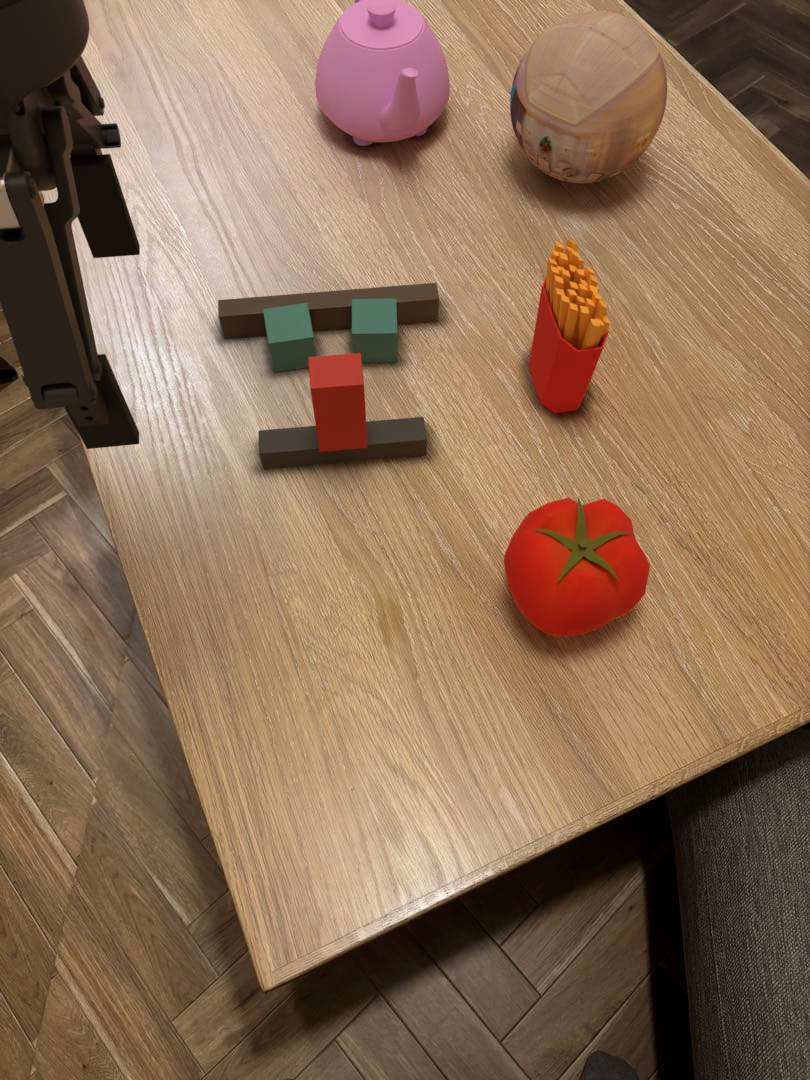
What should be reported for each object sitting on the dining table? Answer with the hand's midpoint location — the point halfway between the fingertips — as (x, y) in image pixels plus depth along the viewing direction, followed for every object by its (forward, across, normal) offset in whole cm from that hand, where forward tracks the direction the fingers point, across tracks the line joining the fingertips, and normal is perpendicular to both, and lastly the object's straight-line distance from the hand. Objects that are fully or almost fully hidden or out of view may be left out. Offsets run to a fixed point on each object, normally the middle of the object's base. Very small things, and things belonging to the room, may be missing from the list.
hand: (115, 341), depth 49 cm
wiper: (+24, +7, -13) cm, 28 cm away
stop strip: (+24, +21, -13) cm, 35 cm away
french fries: (+24, +12, -33) cm, 42 cm away
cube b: (+24, +18, -17) cm, 34 cm away
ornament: (+24, +39, -40) cm, 61 cm away
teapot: (+24, +48, -22) cm, 58 cm away
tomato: (+24, -9, -29) cm, 39 cm away
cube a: (+24, +18, -9) cm, 32 cm away
